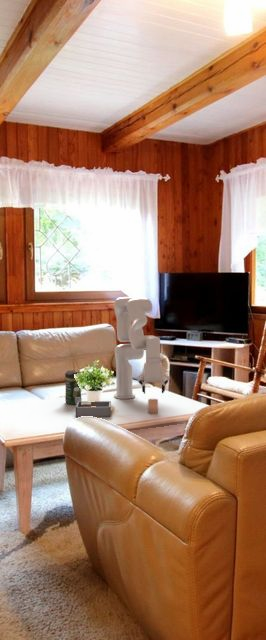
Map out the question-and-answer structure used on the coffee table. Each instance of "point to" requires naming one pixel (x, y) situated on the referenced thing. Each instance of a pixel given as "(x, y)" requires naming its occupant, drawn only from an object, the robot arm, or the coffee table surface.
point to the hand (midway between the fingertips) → (153, 393)
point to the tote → (94, 409)
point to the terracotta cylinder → (152, 406)
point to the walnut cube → (86, 404)
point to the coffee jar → (72, 388)
